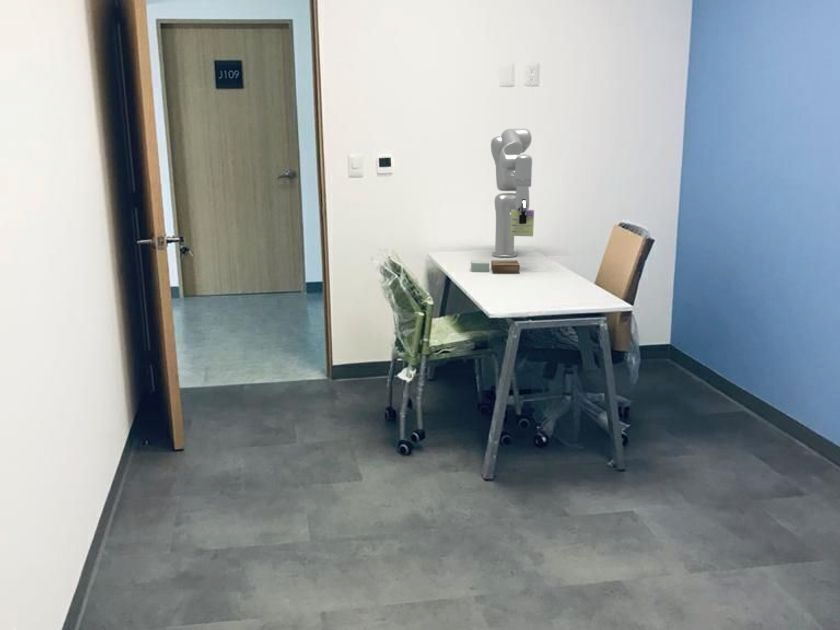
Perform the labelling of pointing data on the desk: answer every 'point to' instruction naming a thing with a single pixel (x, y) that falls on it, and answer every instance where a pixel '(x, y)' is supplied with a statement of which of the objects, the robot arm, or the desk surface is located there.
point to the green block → (479, 266)
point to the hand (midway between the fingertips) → (521, 222)
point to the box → (518, 228)
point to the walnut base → (505, 267)
